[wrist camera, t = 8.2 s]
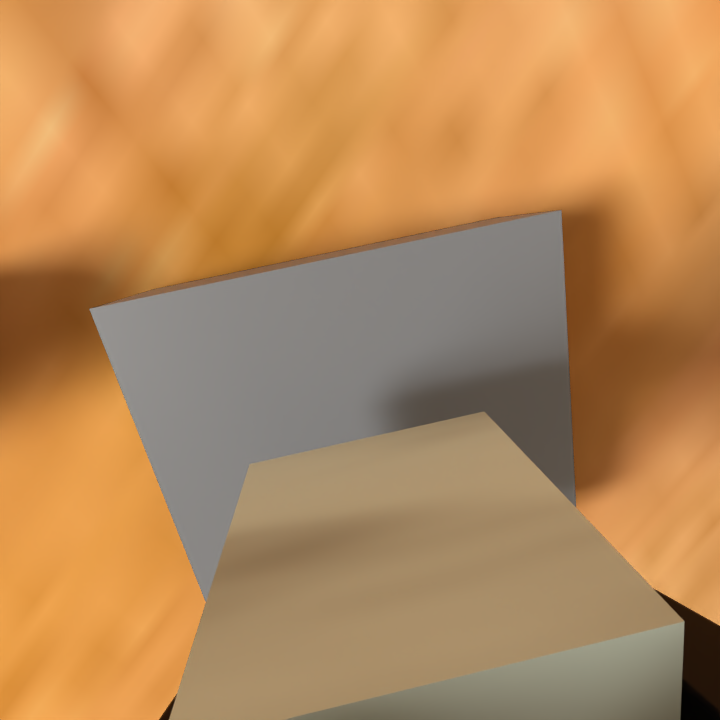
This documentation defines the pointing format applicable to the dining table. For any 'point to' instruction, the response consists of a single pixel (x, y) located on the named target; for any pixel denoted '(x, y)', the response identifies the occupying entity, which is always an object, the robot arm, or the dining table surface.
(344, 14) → the dining table surface
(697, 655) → the robot arm
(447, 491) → the cube
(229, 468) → the plinth
